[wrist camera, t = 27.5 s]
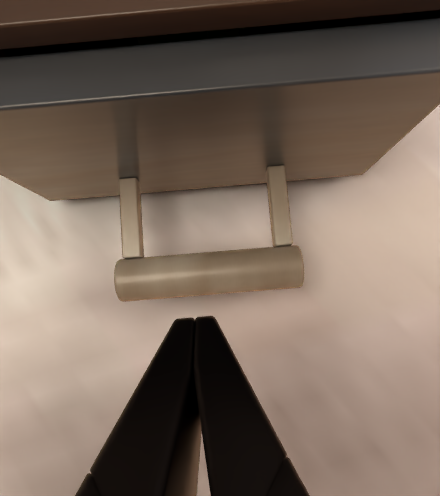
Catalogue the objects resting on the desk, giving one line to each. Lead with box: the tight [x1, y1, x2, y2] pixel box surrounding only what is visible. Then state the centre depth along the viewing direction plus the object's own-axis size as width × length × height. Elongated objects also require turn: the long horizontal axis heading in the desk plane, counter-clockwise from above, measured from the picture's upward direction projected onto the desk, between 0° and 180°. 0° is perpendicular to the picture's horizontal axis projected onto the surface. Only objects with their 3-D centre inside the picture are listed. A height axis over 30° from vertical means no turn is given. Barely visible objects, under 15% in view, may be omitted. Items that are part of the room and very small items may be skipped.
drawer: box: [0, 13, 440, 302], centre depth 12 cm, size 16×12×7 cm
